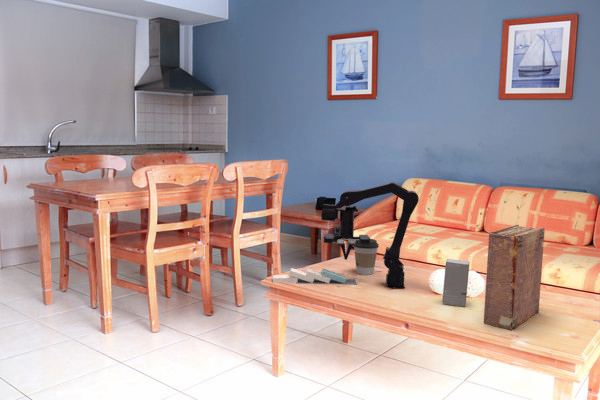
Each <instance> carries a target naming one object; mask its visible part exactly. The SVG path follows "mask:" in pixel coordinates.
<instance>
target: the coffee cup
mask: <svg viewBox="0 0 600 400" xmlns="http://www.w3.org/2000/svg"><path fill="white" fill-rule="evenodd" d="M355 244H356V245H355V246H353V247H354V248H353V249H354V259H355V269H356V273H357V274H359V275H362V276H368V275H373V274H374V272H375V266H376V259H377V255H378V254H377V253H378V248H379V243H378V241H377V239H374V238H370V244H362V243H361V242H360V241H356V242H355Z"/></svg>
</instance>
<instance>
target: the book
mask: <svg viewBox="0 0 600 400" xmlns="http://www.w3.org/2000/svg"><path fill="white" fill-rule="evenodd" d="M544 241H545V227H542V228H541V227H540V228H534V227H526V226H519V224H514V225H511V226H508V227H504V228H502V229H499V230H495V231H491V232H489V233H488V245H487V246H488V247H487V261H486V276H485V277H486V280H485V295H484V296H485V297H484V309H483V310H484V312H483V324H484V325H490V326H493V327H496V328H501V329H504V330H510V331H513V330H515V329H516V328H518V327H519V326H521V325H522V324H524V323H526V321H528V320H530V319H531V318H533V317H534V316H536V315H537V314H539V312H540V311H539V310H540V298H541V297H540V296H541V283H542V282H541V281H542V272H543V270H542V269H543V254H544ZM535 314H536V315H535ZM532 316H533V317H532ZM529 318H530V319H529Z"/></svg>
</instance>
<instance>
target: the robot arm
mask: <svg viewBox="0 0 600 400" xmlns="http://www.w3.org/2000/svg"><path fill="white" fill-rule="evenodd" d="M387 194H393V195H395V196H396V197H397V198H399V199H400V200H402V201H403V203H402V210H401V214H400V217H399V220H398V224H397V227H396V230H395V234H394V237H393V240H392V243H391V244H390V247H388V246H386V248H385V253H384V254H383V257H382V260H383V264H384V266H385V267H386V268H387V269H388V270H387V273H386V275H385V284H386V287H388V289H405V288H406V287H405V271H404V263H403V262H402V261H401V260H400V254H401V247H402V244H403V240H404V237H405V235H406V232H407V228H408V225H409V222H410V218H411V216H412V214H413V213H414V211H415V209H416V207H417V206H418V203H419V202H420V201H419V200H420V199H419V195H418V193H417V192H416V191H414V190H408V189H406V188H405V187H403V186H401V185H399V184H398V183H396V182H395V181H393V182H389V183H386V184H382V185H378V186H377V185H376V186H373V187H369V188H365V189H358V190H357V189H356V190H355V189H354V190H346V191H344V192H342V193H341V194H340V197H339V201H338V202H337V203H336V204H327V203H323V204H322V209H321V213H320V215H321V221H324V222H336V221H337V220H339V225H337V224H336V225H334V233H335V234H338V235H334V234H333V233H324V234H323V235H322V236H323V238H322V240H323V243H325V244H332V243H333V242H336V244H337V246H340V249H341V251H342V254H343V259H344V260H346V261H347V260H348V258H349V256H350V253H351V251H352V249H353V247H354V246H355V245H356V244H355V242H356V241H360V242H361V243H362V244H370V239H371V238H370V236H369V235H368V234H359V235H358V236H354V233H355V232H354V231H355V230H354V228H355V213H357V212H359V211H360V209H359V208H358V207H357V205H354V204H358V203H360V202H361V201H363V200H367V199H371V198H375V197H380V196H383V195H387ZM352 205H354V206H352ZM343 207H345V208H343ZM345 242H347V243H346V244H345Z"/></svg>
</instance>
